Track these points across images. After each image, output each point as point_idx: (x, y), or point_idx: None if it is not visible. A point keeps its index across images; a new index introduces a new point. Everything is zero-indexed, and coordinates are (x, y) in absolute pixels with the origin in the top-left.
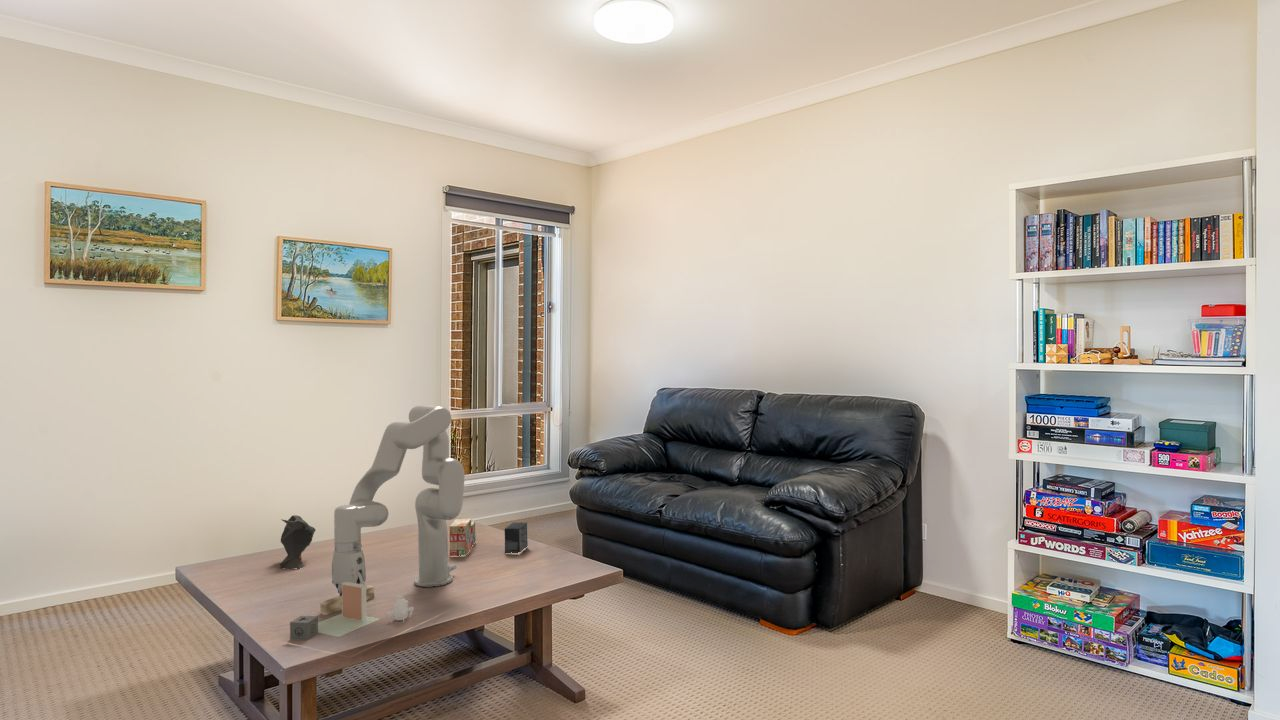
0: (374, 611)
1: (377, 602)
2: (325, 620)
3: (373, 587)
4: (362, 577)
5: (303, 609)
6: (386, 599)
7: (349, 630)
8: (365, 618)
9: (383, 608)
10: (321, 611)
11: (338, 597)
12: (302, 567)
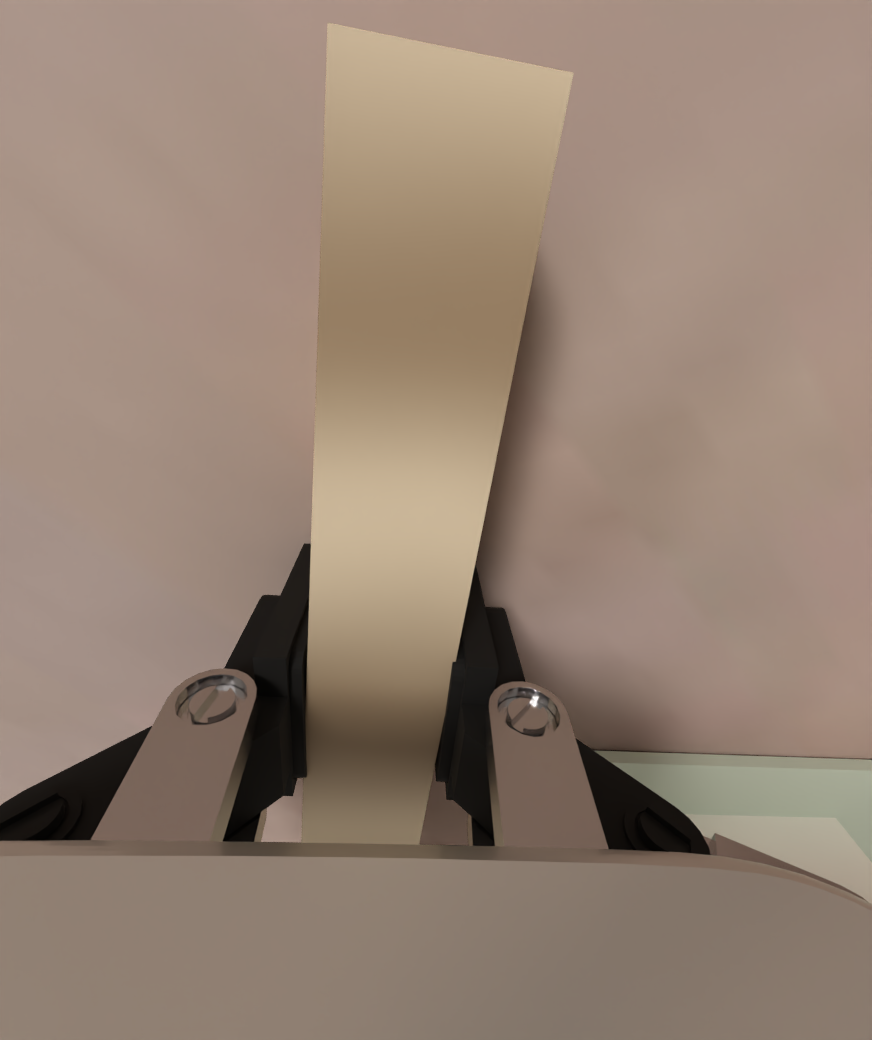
0: (793, 623)
1: (674, 342)
2: None
3: (558, 119)
4: (806, 1021)
5: (13, 787)
6: (759, 139)
7: None
8: (842, 840)
9: (867, 518)
10: None
11: (349, 840)
12: None
